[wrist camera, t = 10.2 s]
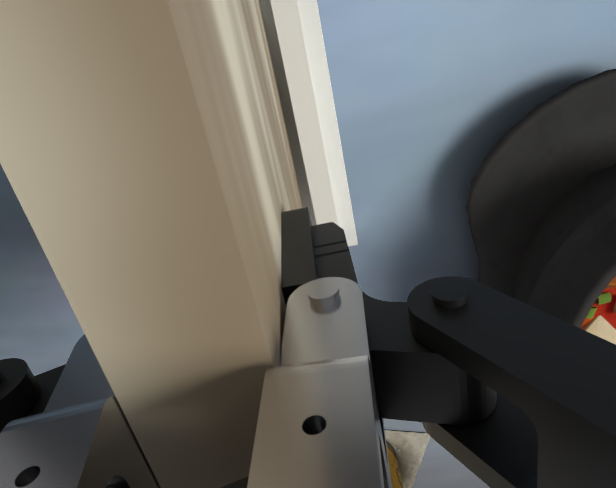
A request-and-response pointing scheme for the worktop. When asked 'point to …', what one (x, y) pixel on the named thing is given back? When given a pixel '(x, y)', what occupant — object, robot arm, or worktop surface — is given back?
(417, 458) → the condiment
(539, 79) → the worktop surface
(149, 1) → the birch sheet
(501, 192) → the casserole
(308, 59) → the rack
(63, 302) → the worktop surface
